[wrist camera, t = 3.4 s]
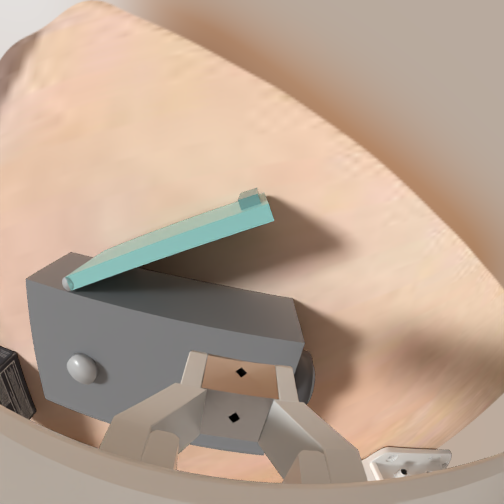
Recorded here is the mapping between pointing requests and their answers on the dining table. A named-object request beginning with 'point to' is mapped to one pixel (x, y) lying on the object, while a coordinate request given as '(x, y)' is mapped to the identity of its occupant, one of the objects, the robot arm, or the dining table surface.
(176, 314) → the block
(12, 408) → the small box
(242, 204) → the side door
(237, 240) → the dining table surface
